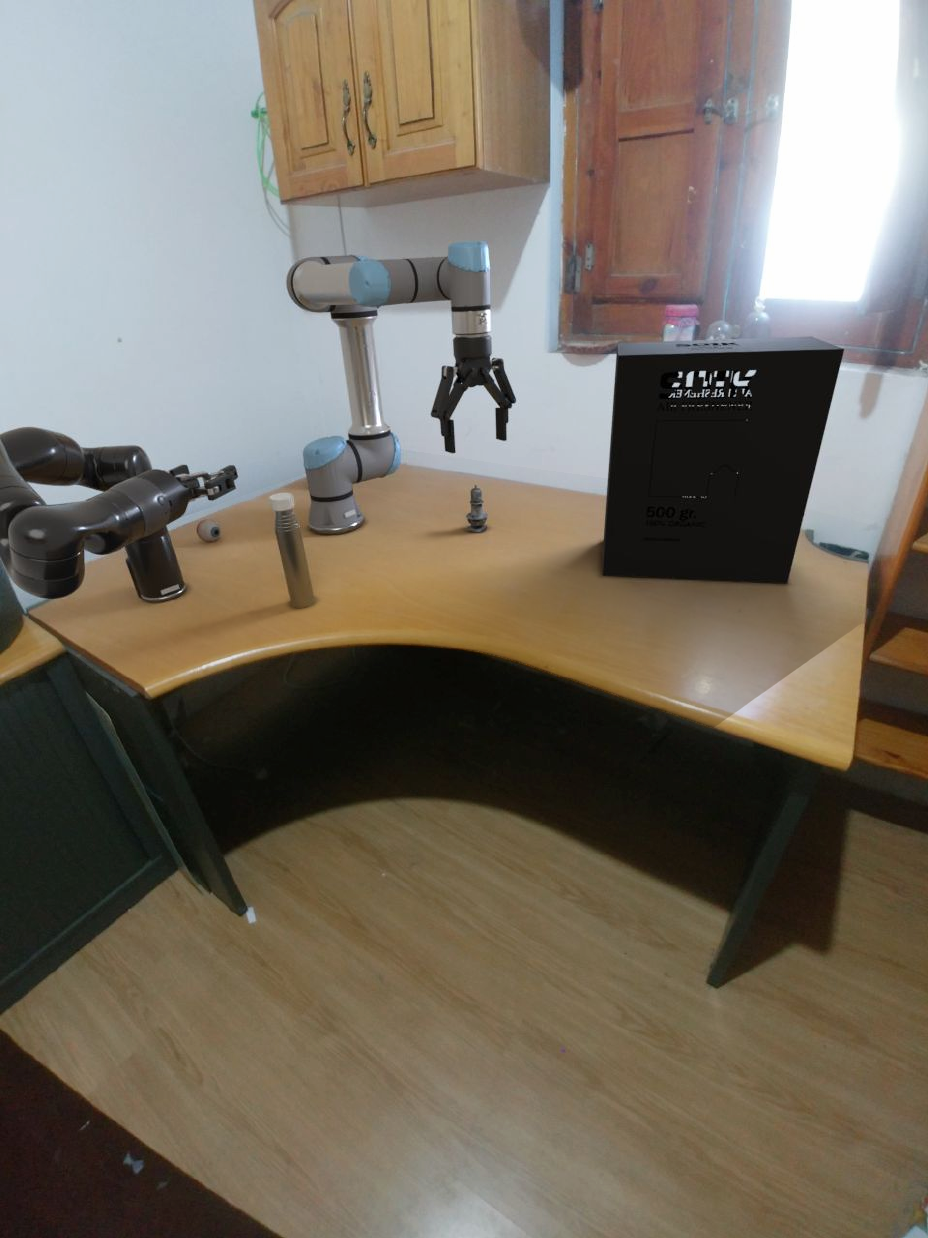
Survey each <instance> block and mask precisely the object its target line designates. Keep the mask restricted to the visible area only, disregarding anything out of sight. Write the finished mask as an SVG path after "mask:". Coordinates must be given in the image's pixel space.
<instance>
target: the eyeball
mask: <svg viewBox="0 0 928 1238" xmlns="http://www.w3.org/2000/svg"><path fill="white" fill-rule="evenodd" d="M196 534H197V536H198V538H199V539H201V540H202V541H204V542H208V543H209V542H211V543H212V542H215V541H216V540H218V539H219V538H220V536H221V534H222V529H221V526H220V524H219V523H218V522H217V521H216V520H214V519H211V518H206V519H203V520H200V521H199V522H198V524H197V526H196Z"/></svg>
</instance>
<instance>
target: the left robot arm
mask: <svg viewBox="0 0 928 1238" xmlns="http://www.w3.org/2000/svg"><path fill="white" fill-rule="evenodd" d="M238 478H239V475H238V471H237V467H236V465H234V464H229V465H227V466H225V467H223V468H220V469H219V470H217V471H212V472H207V471H205V470H202V471H198V472H197V471H196V472H193V473H191V472H190V469H189V466H188V465H187V464H180V465H178V466H176V467H173V468H171V469H159V468H153V466H152V462H151V460H150V458H149V456H148V454H147V452H146V451H145V450H144V448H143V447H141V446H140V445H136V444H129V445H128V444H127V445H126V444H125V445H107V446H96V447H83V446H81V445H80V444H79V443H78V442H77V441H76V440H75V439H73V438H72V437H70V436H69V435H67V434H65V433H62V432H58V431H54V430H50V429H46V428H42V427H38V426H37V427H36V426H21V427H17V428H14V429H9V430H7V431H4V432H2V433H0V561H1V563H2V566H3V567H4V569H5V571H6V573H7V574H8V576H9V578H10V579H11V580H12V582H13V583H14V584H15V585H16V586H17V587H18V588H20V590H22V591H24V592H25V593H27V594H29V595H31V596H34V597H37V598H40V599H46V600H57V599H62V598H65V597H69V596H70V595H73V594H74V593H75V592H77V590H79V589H80V587H81V586H82V584H83V582H84V579H85V575H86V564H85V563H86V562H85V551H86V552H89V553H90V554H93V555H97V556H106V555H111V554H114V553H115V552H118V551H120V550H122V549H124V551H125V552H126V555H127V557H126V558H125V564H126V567H127V570H128V572H129V575H130V577H131V580H132V583H133V585H134V588H135V591H136V595H137V597H138V598H139V599H142V600H143V601H144V602H146V603H163V602H167V601H171V600H173V599H176V598H178V597H181V595H183V594H184V593H186V591H187V588H188V587H187V584H186V582H185V580H184V576H183V574H182V570H181V566H180V563H179V560H178V557H177V554H176V551H175V548H174V545H173V542H172V538H171V534H170V532H169V530H168V525H170V524H171V523H173V522H176V521H177V520H178V519H180V518H181V517H183V516H184V514H185V513H186V511H187V509H188V507H189V506H188V505H189V503H192V502H195V501H196V500H197V499H201V498H206V497H207V500H208V501H216V500H217V499H219V498H221V497H223V496H225V495H227V494H229V493H231V492H233V491H235V490H236V489H237V487H236V484H235V480H237V479H238ZM199 479H202V481H203V485H202V486H201V483H200V480H199ZM30 484H36V485H43V486H52V487H72V486H79V487H84V488H88V489H92V490H95V491H99V492H100V493H99V494H96V495H94V496H92V497H89V498H87V499H85V500H81V501H73V502H66V503H65V502H64V503H57V504H56V503H55V504H47V503H46V501H45V500H44V499H43V498H42V497H41V495H40V494H39V493H38V492H37V491H36V490H35V489H34V487H32V485H30Z"/></svg>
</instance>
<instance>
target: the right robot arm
mask: <svg viewBox="0 0 928 1238" xmlns="http://www.w3.org/2000/svg"><path fill="white" fill-rule="evenodd" d="M490 263H491V262H490V252H489V245H488V244H487V242H485V241H484V240H466V241H455V242H451V243H450V244H449V245H448V247H447V256H431V257H430V256H427V257H413V258H411V257H410V258H391V259H390V258H386V259H374V258H370V257H369V256H367V255H358V254H349V255H328V256H326V255H325V256H310V257H305V258H302V259H300V260H298V261H296V262H295V263H293V265H291V267H290V268H289V269H288V272H287V275H286V281H285V282H286V283H285V284H286V285H285V286H286V290H287V293H288V296H289V297H290V299H291V300H292V303H294V304H295V305H296V306H298V307H299V308H300V309H302V310H304V311H306V312H310V313H318V314H319V313H320V314H321V313H330V320H331V321H332V322H333V323H334V324H335V325H336V326H337V327H338V332H339V333H338V334H339V339H340V347H341V355H342V361H343V369H344V375H345V382H346V383H345V384H346V389H347V396H348V404H349V410H350V418H351V425H350V426H349V428H348V430H347V436H348V439H345V437H343V436H341V435H332V436H324V437H321V438H318V439H315V440H312V441H311V442H309V443H308V444H306V445H305V446H304V448H303V450H302V457H303V459H302V460H303V467H304V471H305V476H306V481H307V486H308V492H309V498H310V507H309V513H308V521H307V524H308V528H309V529H308V530H310V531H311V532H312V533H314V534H317V535H323V536H324V535H325V536H327V535H329V536H331V535H339V534H340V535H341V534H345V533H350V532H353V531H355V530H357V529H359V528H361V527H362V526H363V525H364V523H365V519H364V514H363V512H362V510H361V508H360V505H359V504H358V501H357V500H356V498H355V495H354V489H353V485H354V484H355V485H356V484H359V483H363V482H368V481H371V480H375V479H381V478H385V477H387V476H390V475H392V474H394V473H396V472H397V470H398V469H399V467H400V465H401V462H402V446H401V443H400V441H399V437H398V436H397V435H396V434H395V432H394V431H391V426H390V425H388V423H386V422H385V420H384V419H385V418H384V410H383V402H382V393H381V385H380V377H379V368H378V367H379V366H378V358H377V349H376V341H375V331H374V324H375V322H376V320H377V319H378V317H379V314H378V309H379V308H381V307H385V306H394V305H403V304H405V305H406V304H417V303H419V304H420V303H427V302H428V303H429V302H444V301H448V302H449V301H450V311H451V313H450V314H451V315H450V316H451V334H453V335H454V337H453V339H452V350H453V358H454V359H455V363H454V366H452V365H442V366H441V373H440V374H441V375H440V376H441V377H440V381H439V384H438V388H437V390H436V395H435V398H434V401H433V404H432V407H431V411H430V416H431V418H435V419H438V421H439V426H440V435H441V437H443V441H444V442H443V443H444V452H446V453H450V454H456V433H455V420H454V419H451V418H452V416H453V414H454V413H455V410H456V409H457V406H458V404H459V402H460V401H461V399H462V397H463V396H464V393H465V392H466V391H468V389H469V388H474V387H477V386H478V387H482V386H483V387H484V389H485V390H486V391H487V392H488V394H489V396H491V398H492V399H493V401H494V402H495V403H496V405H497V406H498V407H495V408H494V410H495V411H494V413H495V414H494V415H495V439H496V440H499V441H502V442H507V441H508V438H507V435H508V433H507V424H509V410H510V409H512V407H513V404H516V403H517V398H516V394H515V393H514V390H513V388H512V385H511V383H510V380H509V378H508V375H507V373H506V370H505V363H504V362H505V361H504V359H503V358H499V357H493V358H491V356H492V354H493V346H492V344H493V343H492V340H493V339H492V336H491V335H489V333H491V332H492V315H491V314H492V312H491V311H492V309H491V264H490ZM491 370H492V374H493V376H494V378H493V376H492V375H491ZM455 377H456V378H455ZM454 378H455V380H454ZM495 381H496V383H497V384H496V383H495Z"/></svg>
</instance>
